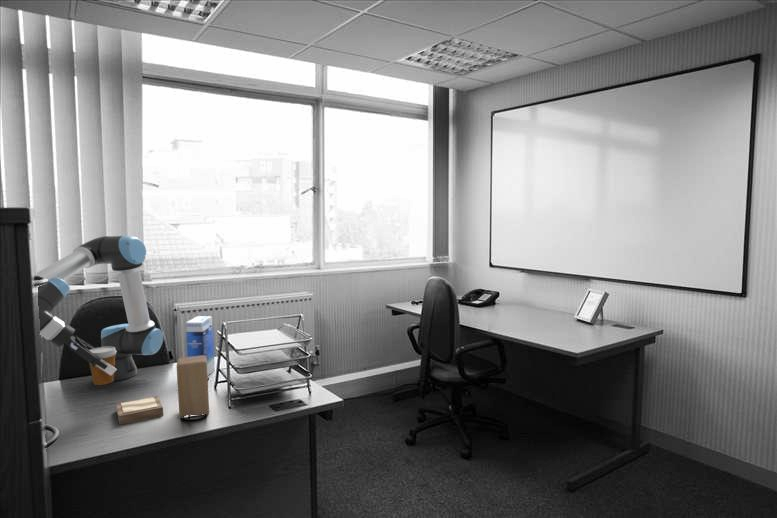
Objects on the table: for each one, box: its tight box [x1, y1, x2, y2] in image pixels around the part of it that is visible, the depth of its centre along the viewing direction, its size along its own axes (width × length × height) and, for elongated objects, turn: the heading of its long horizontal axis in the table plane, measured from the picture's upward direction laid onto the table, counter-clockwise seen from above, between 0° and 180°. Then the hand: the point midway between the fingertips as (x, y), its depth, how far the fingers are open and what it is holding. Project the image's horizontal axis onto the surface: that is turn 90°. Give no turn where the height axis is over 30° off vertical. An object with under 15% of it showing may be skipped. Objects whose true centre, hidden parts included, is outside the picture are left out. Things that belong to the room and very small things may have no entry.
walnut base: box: [115, 395, 164, 425], centre depth 182 cm, size 14×14×3 cm
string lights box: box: [185, 315, 216, 377], centre depth 225 cm, size 13×8×26 cm, turn 0°
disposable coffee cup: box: [88, 346, 117, 386], centre depth 180 cm, size 10×10×12 cm
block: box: [176, 355, 210, 419], centre depth 181 cm, size 10×10×20 cm
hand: (113, 368), depth 182 cm, fingers closed on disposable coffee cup, 9 cm apart
